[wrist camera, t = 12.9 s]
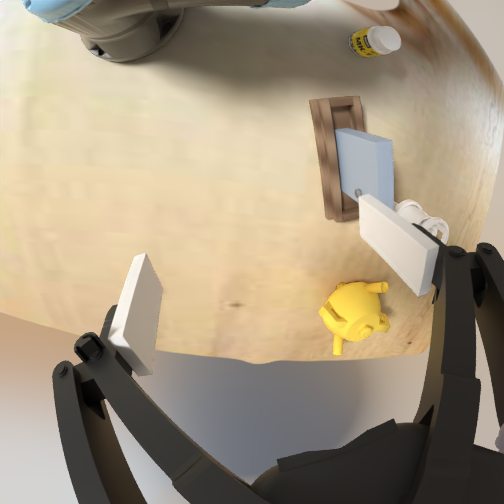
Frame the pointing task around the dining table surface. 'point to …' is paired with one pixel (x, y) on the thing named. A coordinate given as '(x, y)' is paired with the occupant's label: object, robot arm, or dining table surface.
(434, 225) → the strainer
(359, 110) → the track
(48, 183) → the dining table surface
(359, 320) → the teapot
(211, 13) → the dining table surface
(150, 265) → the robot arm
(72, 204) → the dining table surface
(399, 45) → the supplement bottle
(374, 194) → the door panel
